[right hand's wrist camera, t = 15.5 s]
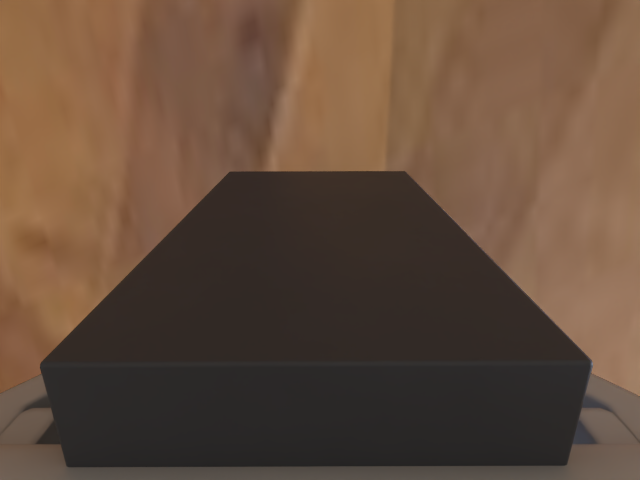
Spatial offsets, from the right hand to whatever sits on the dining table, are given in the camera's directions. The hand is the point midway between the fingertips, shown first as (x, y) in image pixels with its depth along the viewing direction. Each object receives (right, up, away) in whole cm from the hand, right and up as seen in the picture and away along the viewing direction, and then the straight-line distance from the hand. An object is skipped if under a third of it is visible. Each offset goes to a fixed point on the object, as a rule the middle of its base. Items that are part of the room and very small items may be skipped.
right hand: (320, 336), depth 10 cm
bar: (0, -9, +8) cm, 11 cm away
